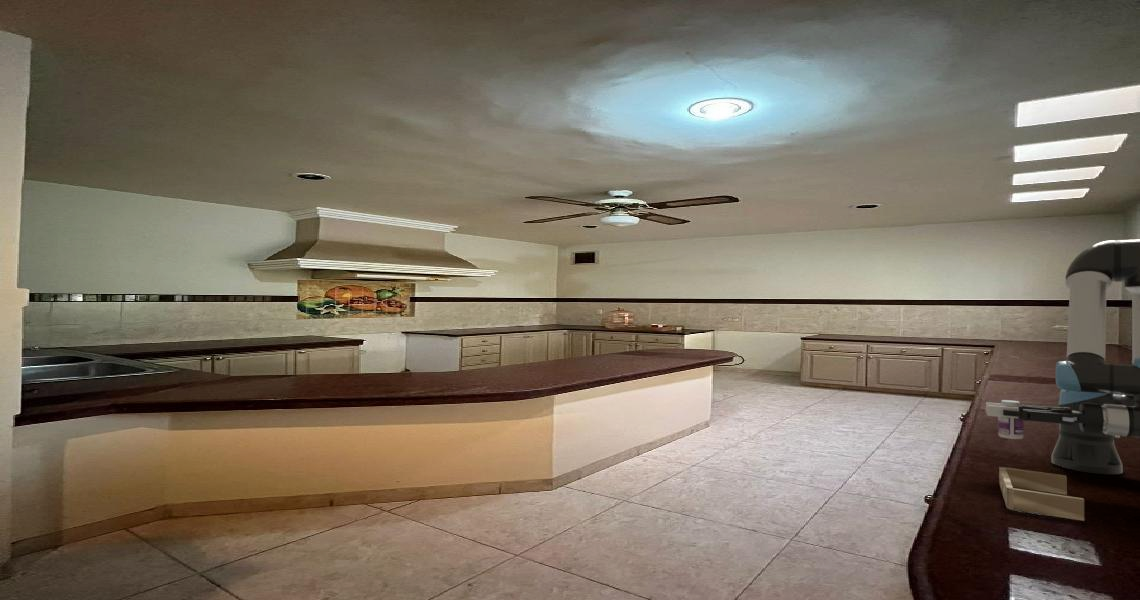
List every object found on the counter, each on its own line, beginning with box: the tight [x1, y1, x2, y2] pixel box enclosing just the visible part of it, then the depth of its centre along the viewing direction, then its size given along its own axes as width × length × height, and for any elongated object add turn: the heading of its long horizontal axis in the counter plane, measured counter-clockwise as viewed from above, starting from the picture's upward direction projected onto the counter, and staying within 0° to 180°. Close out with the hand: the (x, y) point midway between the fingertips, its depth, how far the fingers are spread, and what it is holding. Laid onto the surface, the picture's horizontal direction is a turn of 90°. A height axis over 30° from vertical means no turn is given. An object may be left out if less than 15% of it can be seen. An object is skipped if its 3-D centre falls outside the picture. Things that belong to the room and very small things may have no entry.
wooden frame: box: [998, 466, 1085, 522], centre depth 133 cm, size 22×13×4 cm, turn 146°
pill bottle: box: [997, 399, 1025, 440], centre depth 152 cm, size 5×5×10 cm
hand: (986, 408), depth 155 cm, fingers closed on pill bottle, 5 cm apart
